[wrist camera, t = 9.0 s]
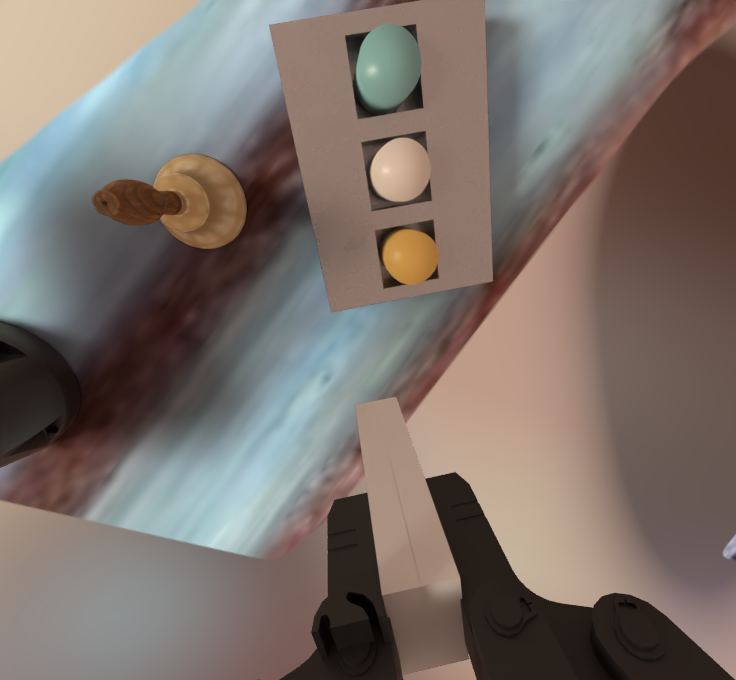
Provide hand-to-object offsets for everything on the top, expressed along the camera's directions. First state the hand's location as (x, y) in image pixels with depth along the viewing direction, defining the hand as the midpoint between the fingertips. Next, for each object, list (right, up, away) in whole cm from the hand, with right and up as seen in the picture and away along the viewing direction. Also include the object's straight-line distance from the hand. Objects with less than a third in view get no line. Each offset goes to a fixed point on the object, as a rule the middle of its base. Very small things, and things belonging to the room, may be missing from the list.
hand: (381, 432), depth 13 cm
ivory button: (+2, +19, +19) cm, 27 cm away
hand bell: (-16, +16, +20) cm, 31 cm away
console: (+2, +19, +21) cm, 29 cm away
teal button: (+1, +25, +16) cm, 30 cm away
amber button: (+3, +12, +22) cm, 25 cm away
